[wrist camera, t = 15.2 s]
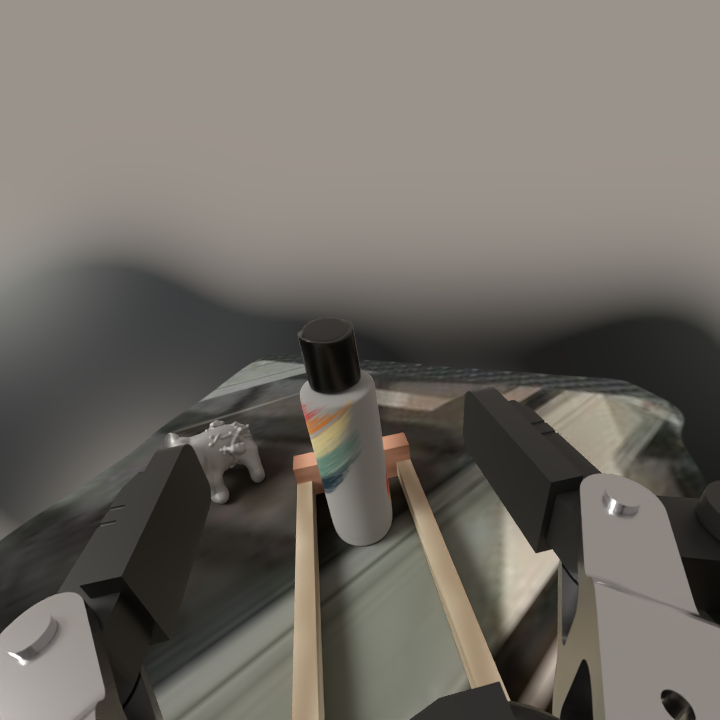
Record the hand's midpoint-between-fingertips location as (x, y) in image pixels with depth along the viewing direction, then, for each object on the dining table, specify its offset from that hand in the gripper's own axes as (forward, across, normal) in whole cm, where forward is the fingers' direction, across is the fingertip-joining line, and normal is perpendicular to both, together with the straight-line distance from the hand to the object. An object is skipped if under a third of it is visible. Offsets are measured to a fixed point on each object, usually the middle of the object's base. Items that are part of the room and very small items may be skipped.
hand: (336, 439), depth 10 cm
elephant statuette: (+22, +15, +22) cm, 34 cm away
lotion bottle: (+13, -1, +22) cm, 25 cm away
